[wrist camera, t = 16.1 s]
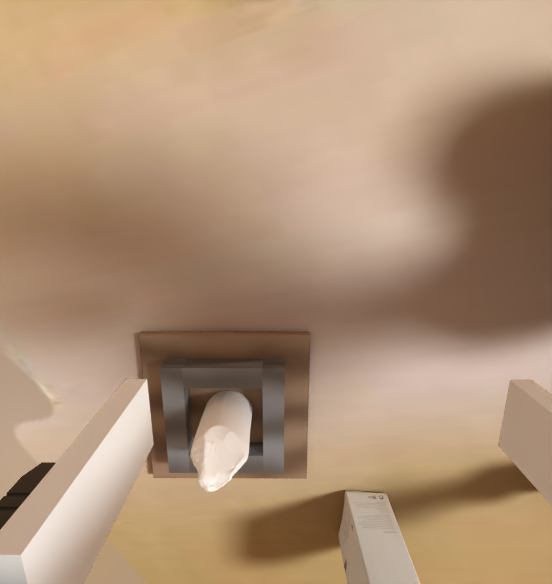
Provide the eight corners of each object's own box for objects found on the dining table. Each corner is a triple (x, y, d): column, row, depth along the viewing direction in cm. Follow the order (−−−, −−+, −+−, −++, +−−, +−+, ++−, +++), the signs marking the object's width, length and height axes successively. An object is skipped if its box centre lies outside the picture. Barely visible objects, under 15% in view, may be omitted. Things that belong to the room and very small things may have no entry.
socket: (141, 331, 43) (130, 343, 40) (309, 332, 43) (312, 343, 40) (156, 472, 48) (146, 493, 45) (305, 472, 48) (307, 493, 45)
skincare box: (344, 488, 49) (372, 611, 34) (388, 491, 49) (435, 614, 34) (337, 537, 51) (360, 672, 37) (380, 540, 51) (420, 675, 37)
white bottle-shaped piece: (241, 457, 32) (247, 508, 34) (251, 388, 44) (255, 428, 45) (175, 462, 32) (183, 512, 34) (202, 391, 44) (207, 431, 45)
